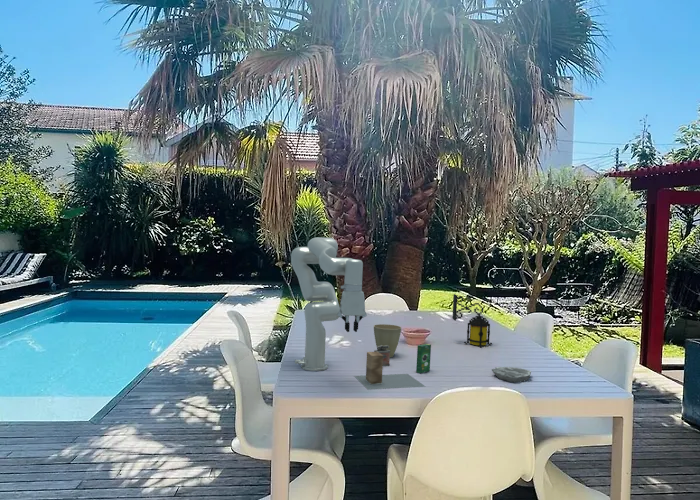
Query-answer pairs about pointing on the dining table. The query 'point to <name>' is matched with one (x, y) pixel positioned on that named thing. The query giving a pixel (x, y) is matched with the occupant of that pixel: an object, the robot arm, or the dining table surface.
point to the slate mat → (391, 382)
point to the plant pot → (387, 336)
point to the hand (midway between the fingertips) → (351, 330)
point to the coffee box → (423, 358)
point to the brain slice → (512, 374)
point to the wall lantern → (473, 324)
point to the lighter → (384, 354)
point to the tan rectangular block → (374, 367)
